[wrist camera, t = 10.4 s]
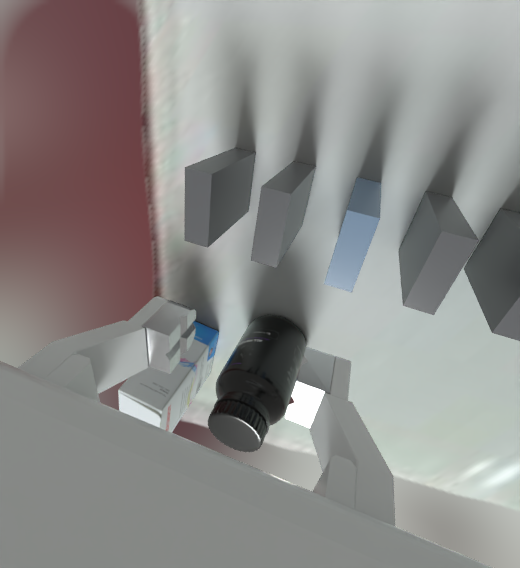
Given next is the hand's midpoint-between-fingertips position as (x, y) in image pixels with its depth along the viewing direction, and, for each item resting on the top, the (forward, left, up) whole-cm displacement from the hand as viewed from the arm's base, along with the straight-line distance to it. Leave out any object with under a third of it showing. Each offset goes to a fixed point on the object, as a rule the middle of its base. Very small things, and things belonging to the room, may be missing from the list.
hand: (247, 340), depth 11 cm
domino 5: (-13, 0, -18) cm, 22 cm away
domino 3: (-3, 0, -18) cm, 18 cm away
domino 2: (+2, 0, -18) cm, 18 cm away
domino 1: (+7, 0, -18) cm, 19 cm away
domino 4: (-8, 0, -18) cm, 19 cm away
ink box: (+11, +22, -18) cm, 30 cm away
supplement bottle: (+1, +16, -18) cm, 24 cm away
